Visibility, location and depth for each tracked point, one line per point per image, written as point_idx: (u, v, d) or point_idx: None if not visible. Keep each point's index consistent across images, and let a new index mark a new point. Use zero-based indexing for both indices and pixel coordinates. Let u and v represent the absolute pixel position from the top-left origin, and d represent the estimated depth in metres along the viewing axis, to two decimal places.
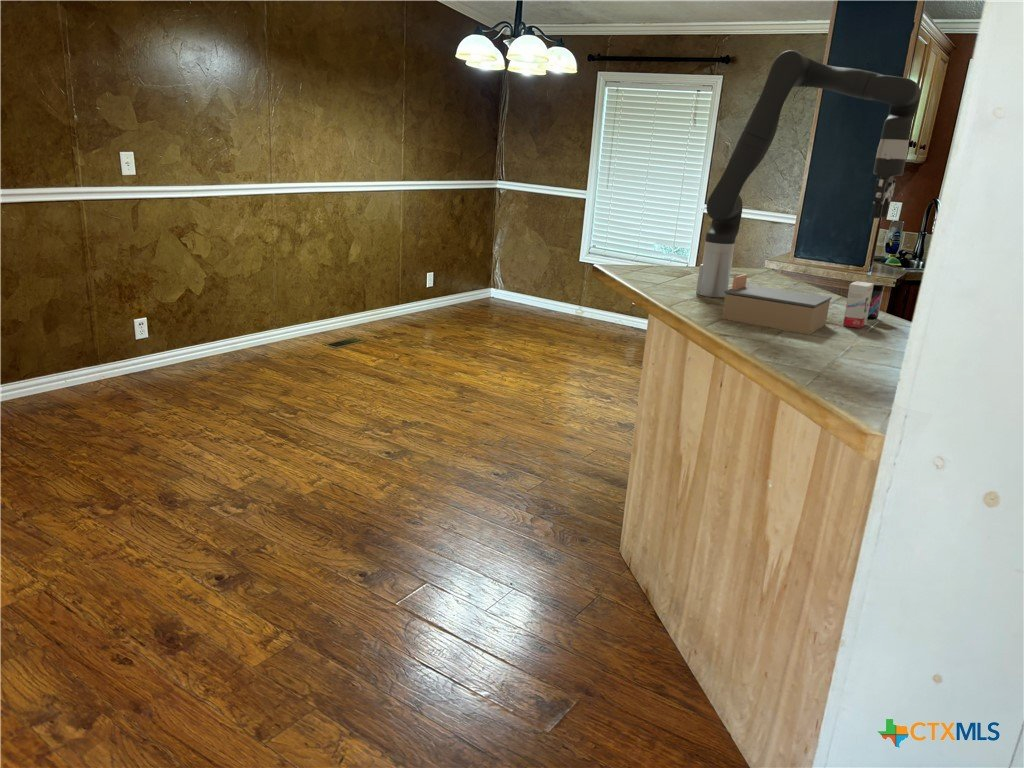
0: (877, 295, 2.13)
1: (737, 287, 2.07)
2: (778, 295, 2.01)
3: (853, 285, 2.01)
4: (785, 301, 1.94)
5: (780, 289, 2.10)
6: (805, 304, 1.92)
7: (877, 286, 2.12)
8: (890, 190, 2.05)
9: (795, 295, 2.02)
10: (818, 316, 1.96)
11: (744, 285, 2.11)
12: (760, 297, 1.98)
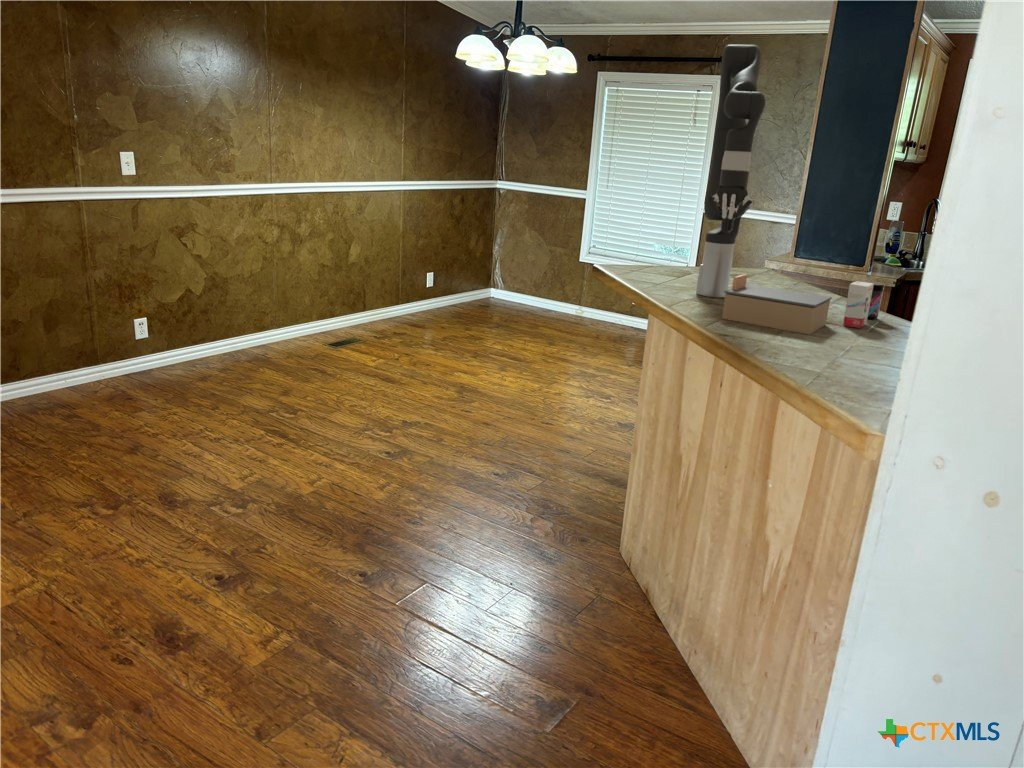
0: (877, 295, 2.13)
1: (737, 287, 2.07)
2: (778, 295, 2.01)
3: (853, 285, 2.01)
4: (785, 301, 1.94)
5: (780, 289, 2.10)
6: (805, 304, 1.92)
7: (877, 286, 2.12)
8: None
9: (795, 295, 2.02)
10: (818, 316, 1.96)
11: (744, 285, 2.11)
12: (760, 297, 1.98)
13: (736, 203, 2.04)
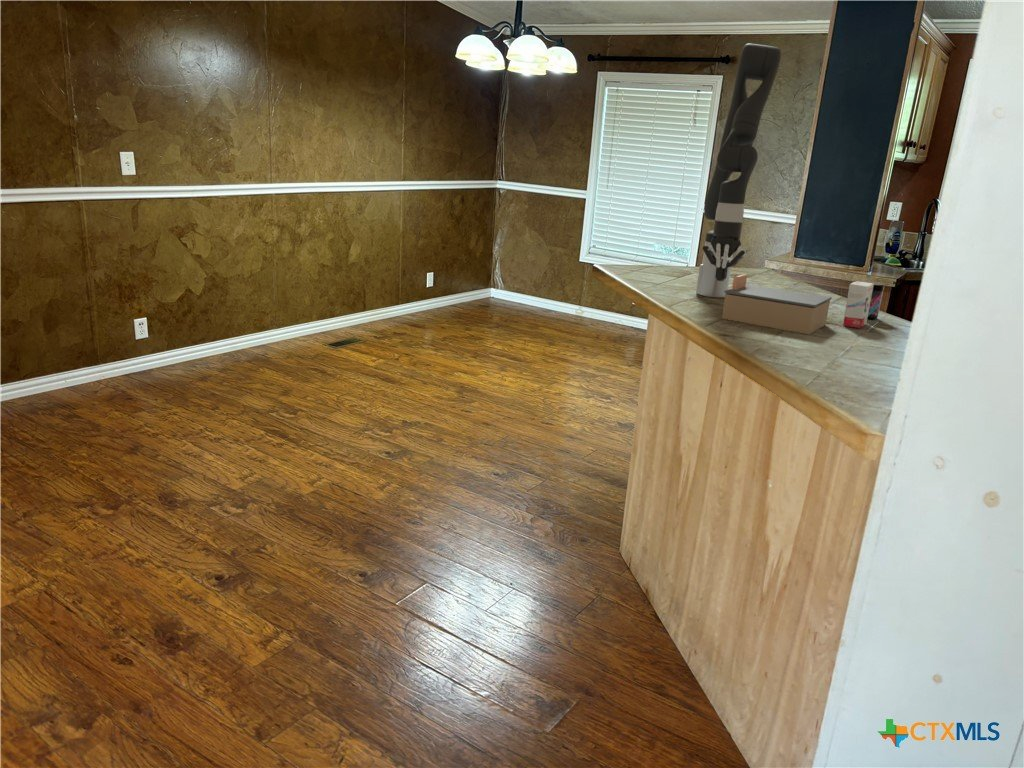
0: (877, 295, 2.13)
1: (737, 287, 2.07)
2: (778, 295, 2.01)
3: (853, 285, 2.01)
4: (785, 301, 1.94)
5: (780, 289, 2.10)
6: (805, 304, 1.92)
7: (877, 286, 2.12)
8: None
9: (795, 295, 2.02)
10: (818, 316, 1.96)
11: (744, 285, 2.11)
12: (760, 297, 1.98)
13: (729, 253, 2.08)
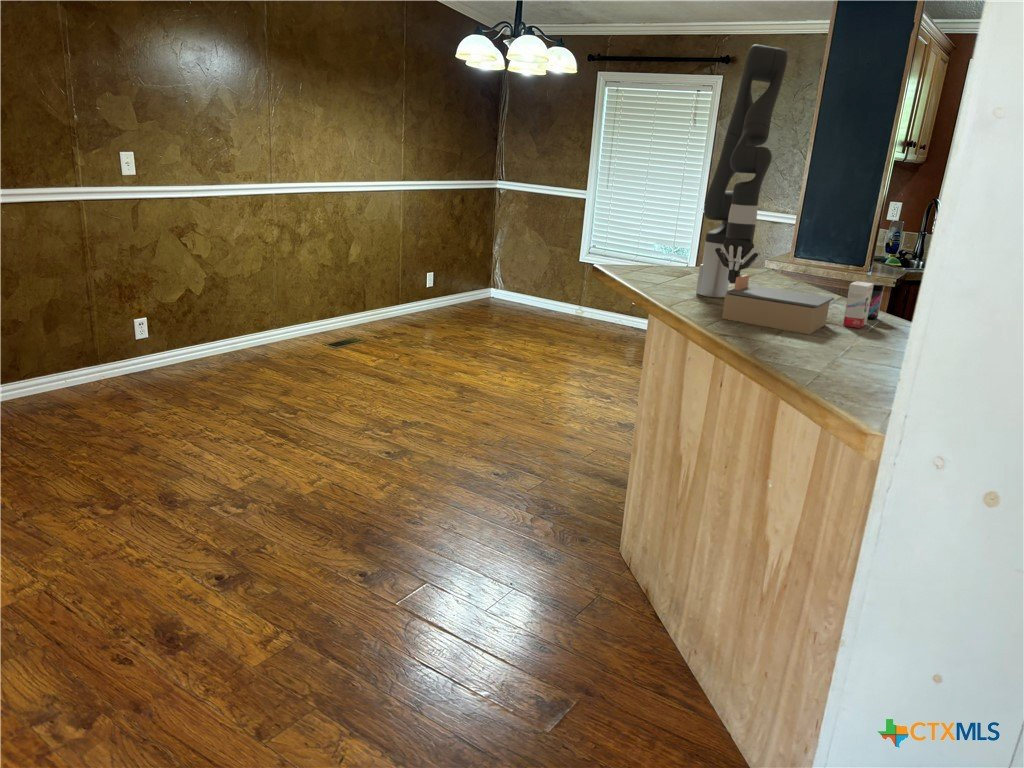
0: (877, 295, 2.13)
1: (739, 287, 2.07)
2: (780, 295, 2.01)
3: (853, 285, 2.01)
4: (788, 301, 1.94)
5: None
6: (808, 304, 1.91)
7: (877, 286, 2.12)
8: None
9: (797, 295, 2.02)
10: (818, 316, 1.96)
11: (746, 285, 2.11)
12: (762, 297, 1.98)
13: (742, 255, 2.06)
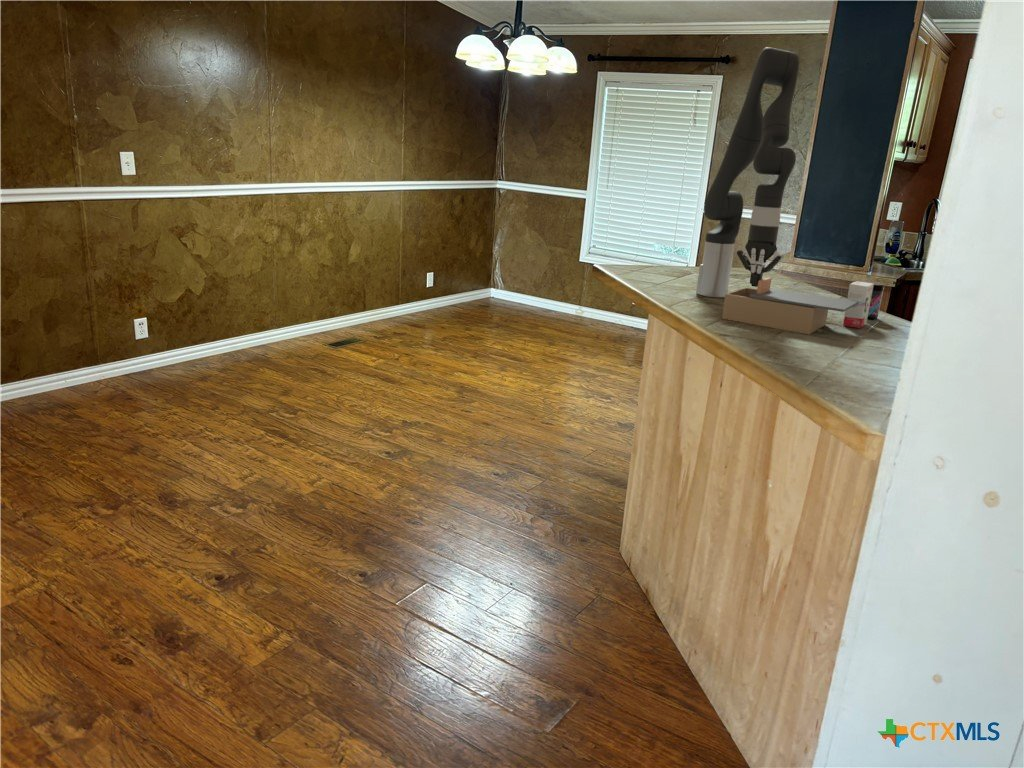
0: (877, 295, 2.13)
1: (762, 291, 2.03)
2: (804, 299, 1.97)
3: (853, 285, 2.01)
4: (812, 305, 1.91)
5: (805, 293, 2.07)
6: (833, 308, 1.88)
7: (877, 286, 2.12)
8: None
9: (821, 299, 1.98)
10: (818, 316, 1.96)
11: (768, 289, 2.07)
12: (786, 301, 1.94)
13: (765, 258, 2.02)
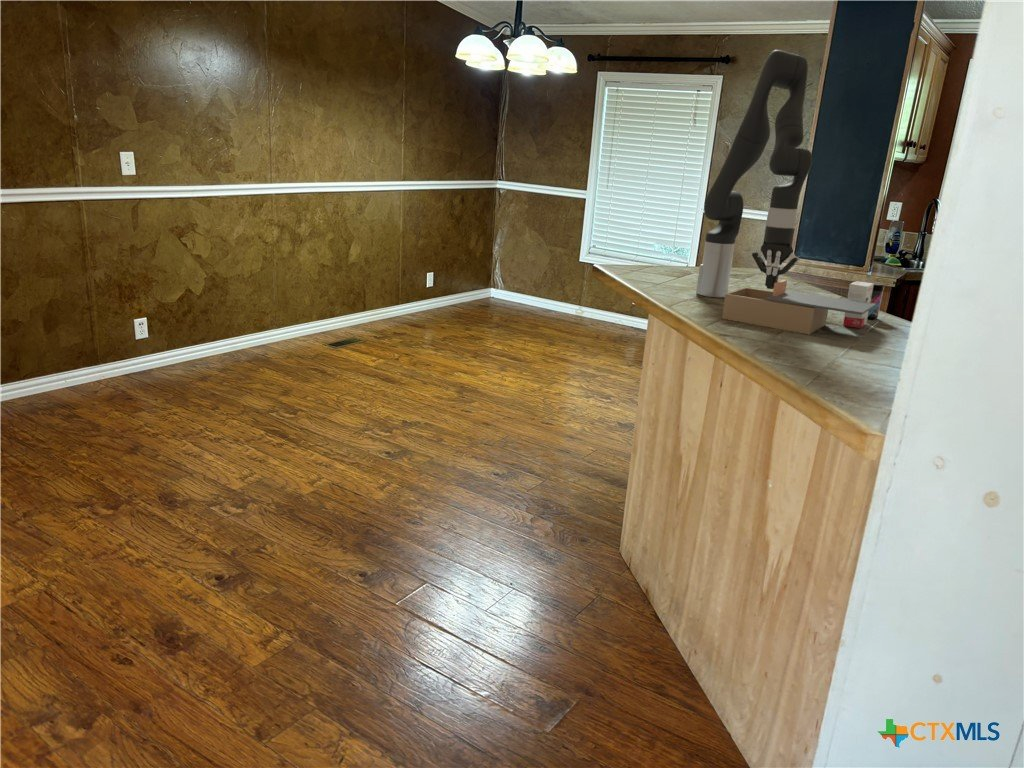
0: (877, 295, 2.13)
1: (778, 293, 2.01)
2: (821, 302, 1.95)
3: (853, 285, 2.01)
4: (830, 308, 1.88)
5: None
6: (851, 311, 1.85)
7: (877, 286, 2.12)
8: None
9: (838, 302, 1.96)
10: (818, 316, 1.96)
11: (784, 291, 2.05)
12: (803, 304, 1.92)
13: (781, 260, 2.00)
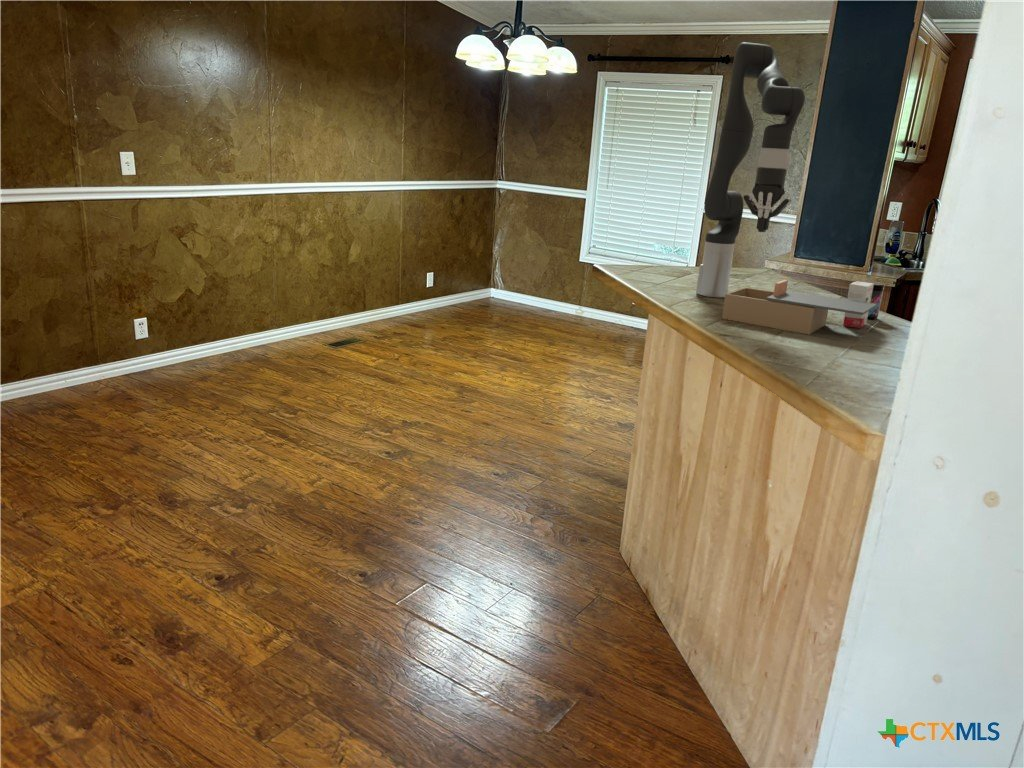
0: (877, 295, 2.13)
1: (778, 293, 2.01)
2: (822, 302, 1.94)
3: (853, 285, 2.01)
4: (831, 308, 1.88)
5: None
6: (852, 312, 1.85)
7: (877, 286, 2.12)
8: None
9: (839, 302, 1.96)
10: (818, 316, 1.96)
11: (785, 291, 2.05)
12: (804, 304, 1.92)
13: (772, 202, 1.98)
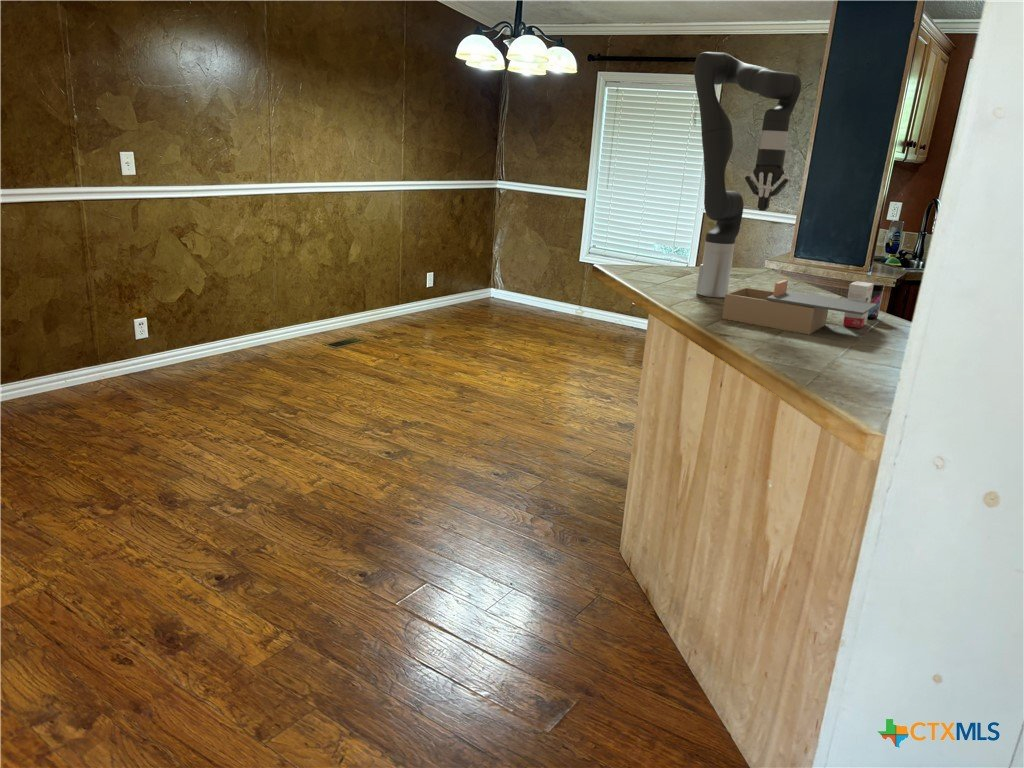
0: (877, 295, 2.13)
1: (778, 293, 2.01)
2: (822, 302, 1.94)
3: (853, 285, 2.01)
4: (831, 308, 1.88)
5: None
6: (852, 312, 1.85)
7: (877, 286, 2.12)
8: None
9: (839, 302, 1.96)
10: (818, 316, 1.96)
11: (785, 291, 2.05)
12: (804, 304, 1.92)
13: (772, 182, 2.09)
